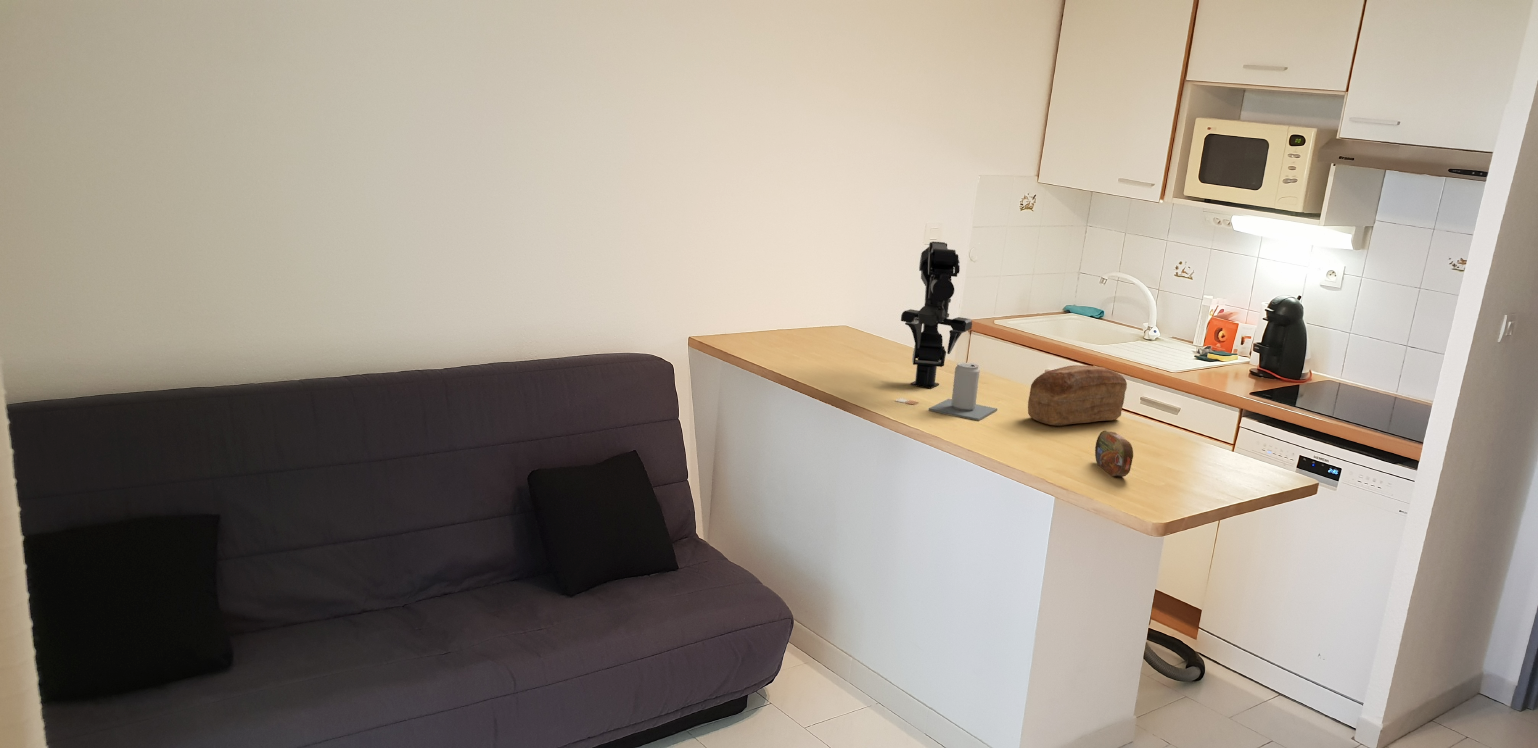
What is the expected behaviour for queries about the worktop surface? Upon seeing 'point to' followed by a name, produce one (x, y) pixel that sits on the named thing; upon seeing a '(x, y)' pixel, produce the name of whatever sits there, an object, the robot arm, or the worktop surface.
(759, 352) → the worktop surface
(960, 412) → the slate mat
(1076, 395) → the bread
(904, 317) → the robot arm
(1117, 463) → the tin
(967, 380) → the beverage can
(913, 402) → the two-tone square tiles
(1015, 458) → the worktop surface
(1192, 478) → the worktop surface
